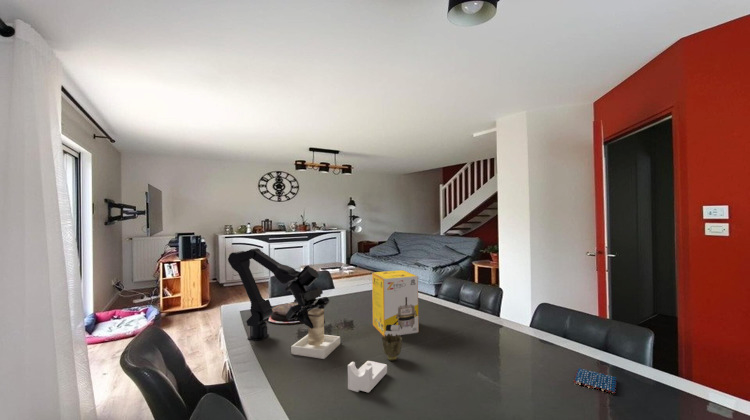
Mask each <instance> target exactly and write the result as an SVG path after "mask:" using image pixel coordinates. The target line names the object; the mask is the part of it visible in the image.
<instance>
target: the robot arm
mask: <svg viewBox="0 0 750 420" xmlns="http://www.w3.org/2000/svg"><path fill="white" fill-rule="evenodd" d="M251 260H253V261H255V262H256V263H258V264H259V265H261V266H262V267H264V268H265V269H267V270H268V271H269V272H271V273H272V274H273V276H274V277H275V278H276V280H278V282H280V283H281V284H286V287H285V289H284V291H285V292H291V294H292V296H293V297H294V300H293V302H295V303H296V302H297V303H298V305H295V306H292V307H290V309H289V310H288V312H287V313H286V318H287V319H288V320H291V319H294V318H295V316H296V318H295V320H298V321H300V322H302V323H301V324H304V325H305V326H307V327H310V328H311V329H313V324H312V322H311V320H310V319H309V317H308V315H307V310H310V309H313V308H318V309H324V310H325V308H326V307H327V305H328V304H329V303H330V301H331V300H330V299H329V298H328V297H327V296H323V297H322V295H323V294H324V293H323V289H322V287H321V286H317V287H315V288H314V289H313V290H310V289H307V288H306V287H310V286H311V285H312V284H313V283H314V282H315V281H316V280H317V279H318V278H319V276H320V275H319V272H318V271H317V270H316V269H315V268H313V267H311V266H310V265H305V266H304V268H303V269H302V270H301V271H299V270H296V268H294V267H293V266H292V267H291V266H290V265H286V264H282V263H280V262H279V261H277V260H275V259H274V258H272V257H271V256H269V255H268V254H266V253H265V252H263V251H262V250H261V249H260V248H258V247H256V248H250V249H249V250H240V251H235V252H231V253H230V254H229V255H228V257H227V261H228V264H229V265H230V266H231V267H230V268H231V269H233V270H234V271H235V272H236V273H238V276H239V278H240V281H241V283H242V285H243V287H244V290H245V292H246V294H247V295H246V296H247V297H248V299H249V302H250V316H249V317H248V319H247V320H246V321H245V322H246V326H247V327H249V336H248V337H247V340H253V341H262V340H264V339H265V338H267V337H268V336H270V334H269V333H268V320H269V317H270V316H271V314H272V308H274V307H273V306H272V304H271V302H270V299H266V300H265V298H263V296H262V294H261V292H260V290H259V286H258V285H257V282H256V281H255V278H254V276H253V275H254V274H253V273H252V271H251V269H250V266H251ZM290 282H291V283H290ZM287 283H289V284H287ZM317 298H318V300H317ZM325 324H326V319H325V318H324V325H325Z"/></svg>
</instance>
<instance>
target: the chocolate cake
mask: <svg viewBox="0 0 750 420" xmlns="http://www.w3.org/2000/svg"><path fill="white" fill-rule="evenodd" d="M295 305H298V303H297V302H296V303H295V302H294V301H291V302H285V303H281V304H277V306H274V307H273V308H272V314H271V316H270V317H269V320H268V321H267V323H268V322H270V323H273V324H275V325H296V324H303V323H302V322H300V321H298V320H295V318H296V316H295V318H294V319H291V320H288V319H287V318H286V313H287V312H288V310H289V309H290V307H292V306H295ZM310 310H312V309H310ZM310 310H307V315H308V311H310Z"/></svg>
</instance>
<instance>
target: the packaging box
mask: <svg viewBox="0 0 750 420" xmlns="http://www.w3.org/2000/svg"><path fill="white" fill-rule="evenodd" d="M371 285H372V286H371V288H372V289H371V290H372V291H371V292H372V293H371V294H372V295H371V296H372V300H371V302H372V326H373V327H374V328H375V329H376V330H377V331H378V332H379V333H380V335H382V337H383V336H384V337H385V335H386V336H387V335H388V334H390V335H391V334H392V336H396V334H397V335H400V336H402V335H403V336H404V335H411V334H417V333H419V327H420V326H419V321H420V319H419V276H418V275H417V274H414V273H411V272H409V271H406V270H404V269H401V270H387V271H376V272H375V271H374V272H371Z"/></svg>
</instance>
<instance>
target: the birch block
mask: <svg viewBox="0 0 750 420" xmlns="http://www.w3.org/2000/svg"><path fill="white" fill-rule="evenodd" d="M308 317H309V319H310V320H311V322H312V324H313V329H311V328H310V327H308V326H307V327H308V328H307V330H308V331H307V332H308V333H307V335H308V345H313V346H320V345H321V344H322V343H323V342H324V335H325V324H324V319H325V308H324V309H318V308H313V309H312V310H310V311H308Z"/></svg>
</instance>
